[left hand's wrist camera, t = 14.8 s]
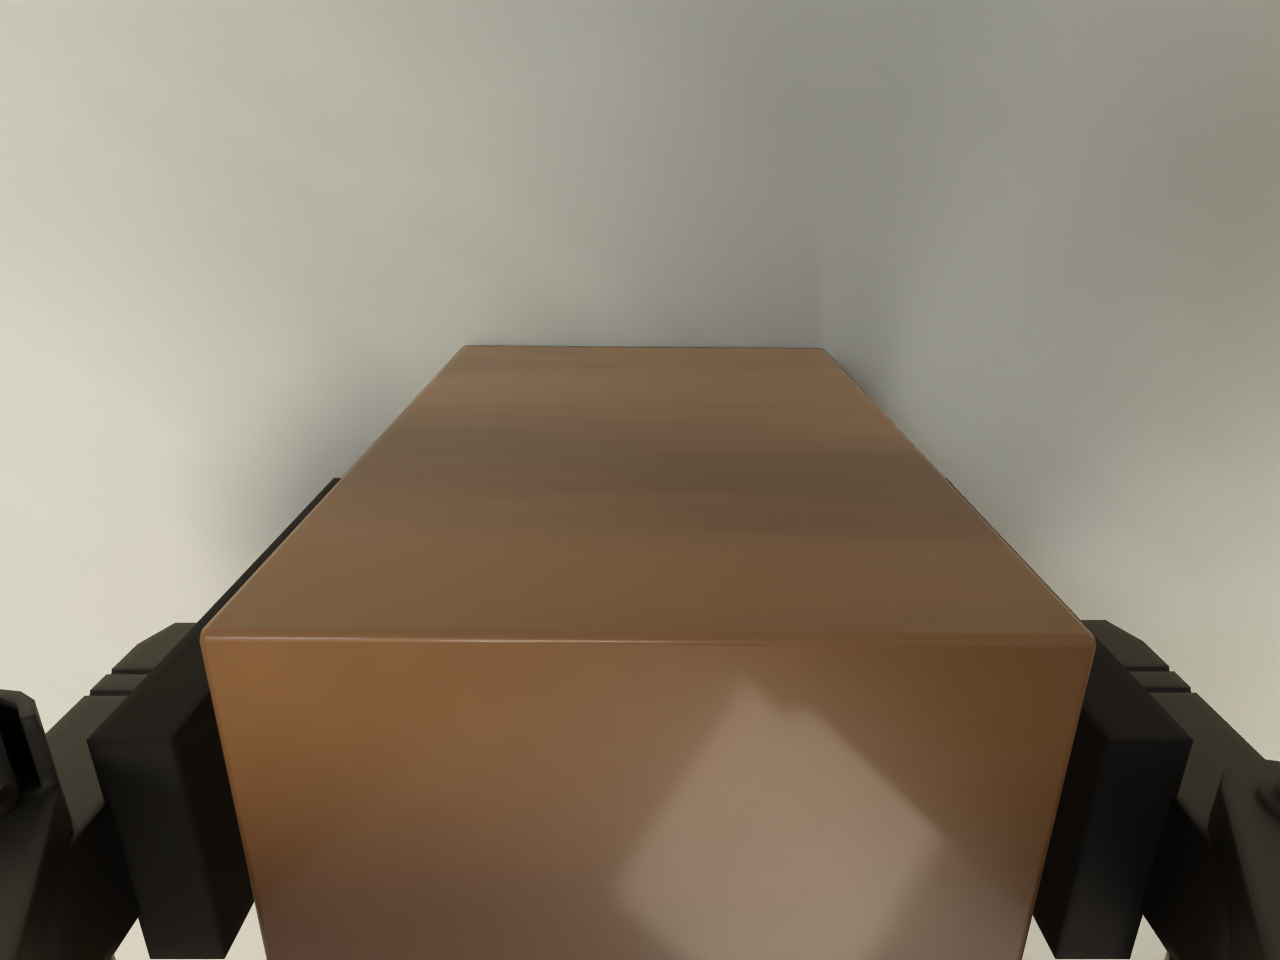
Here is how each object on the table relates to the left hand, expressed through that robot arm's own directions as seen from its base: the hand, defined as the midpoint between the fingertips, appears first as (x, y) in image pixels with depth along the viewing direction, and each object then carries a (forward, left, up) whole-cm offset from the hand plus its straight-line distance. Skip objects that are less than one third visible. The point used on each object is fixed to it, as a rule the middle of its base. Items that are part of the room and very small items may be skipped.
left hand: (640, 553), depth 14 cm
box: (+1, +12, -2) cm, 12 cm away
